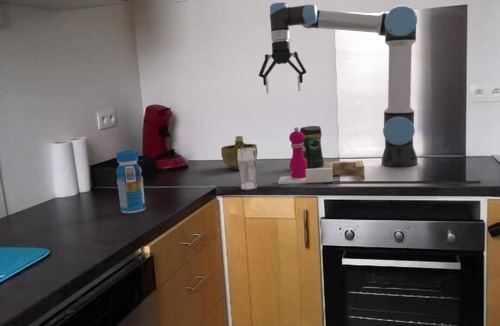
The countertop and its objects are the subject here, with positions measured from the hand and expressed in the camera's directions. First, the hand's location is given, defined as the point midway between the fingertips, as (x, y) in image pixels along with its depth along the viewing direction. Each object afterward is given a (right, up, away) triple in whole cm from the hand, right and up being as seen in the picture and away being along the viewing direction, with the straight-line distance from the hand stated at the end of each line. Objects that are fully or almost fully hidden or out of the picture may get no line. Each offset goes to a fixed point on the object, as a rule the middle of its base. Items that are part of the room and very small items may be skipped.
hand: (283, 92), depth 211 cm
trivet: (+3, -37, -16) cm, 41 cm away
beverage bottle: (-53, -47, -47) cm, 85 cm away
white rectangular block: (+12, -38, -23) cm, 45 cm away
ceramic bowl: (-19, -33, +22) cm, 44 cm away
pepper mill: (+5, -36, -12) cm, 38 cm away
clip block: (+23, -36, -16) cm, 45 cm away
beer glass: (-15, -40, -24) cm, 49 cm away
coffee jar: (+14, -32, +14) cm, 38 cm away
